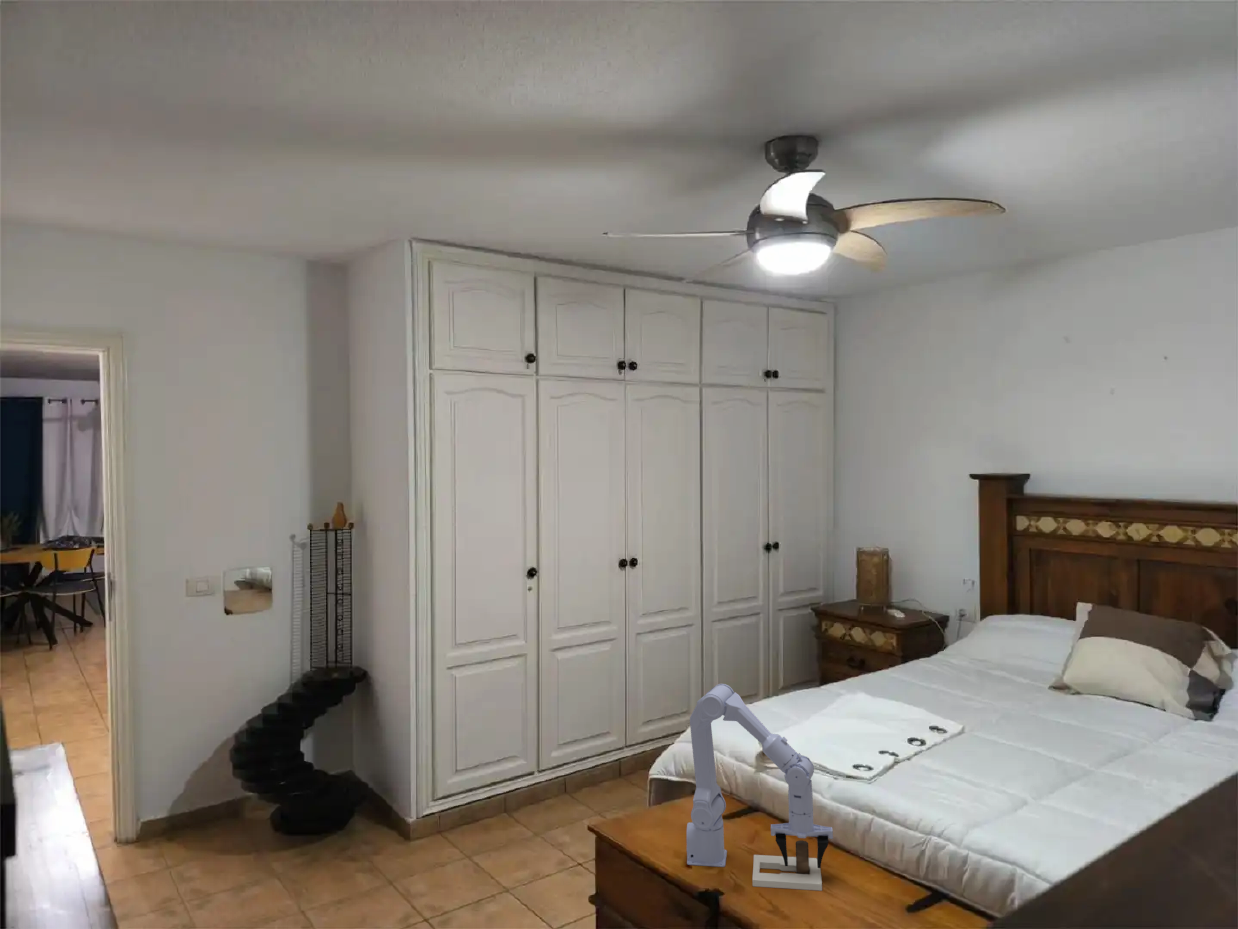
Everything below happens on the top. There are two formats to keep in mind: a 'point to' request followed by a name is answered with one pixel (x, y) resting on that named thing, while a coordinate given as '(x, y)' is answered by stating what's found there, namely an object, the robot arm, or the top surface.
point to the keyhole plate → (785, 874)
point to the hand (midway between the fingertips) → (802, 865)
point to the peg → (802, 857)
